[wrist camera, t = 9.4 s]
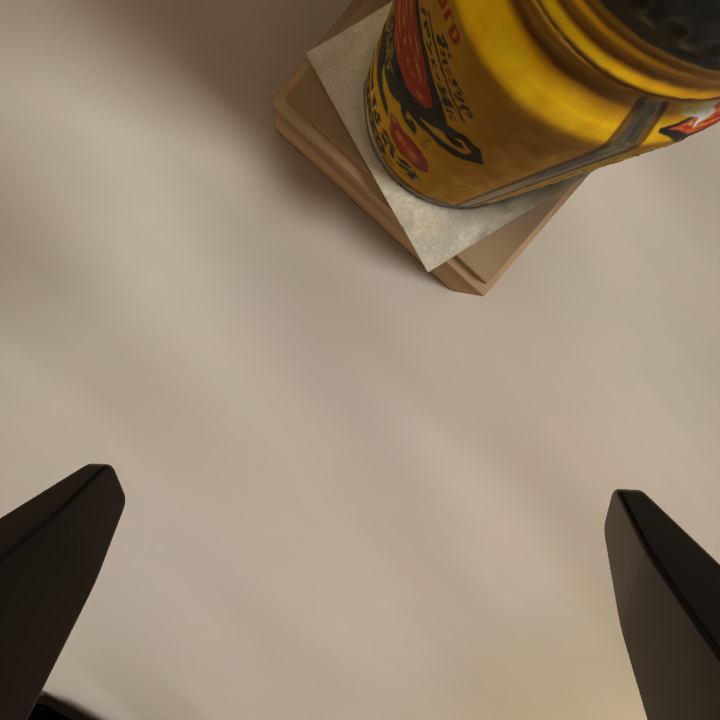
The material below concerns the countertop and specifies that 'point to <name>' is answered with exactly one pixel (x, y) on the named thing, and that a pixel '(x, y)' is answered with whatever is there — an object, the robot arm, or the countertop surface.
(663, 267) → the countertop surface
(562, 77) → the condiment
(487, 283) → the base block
